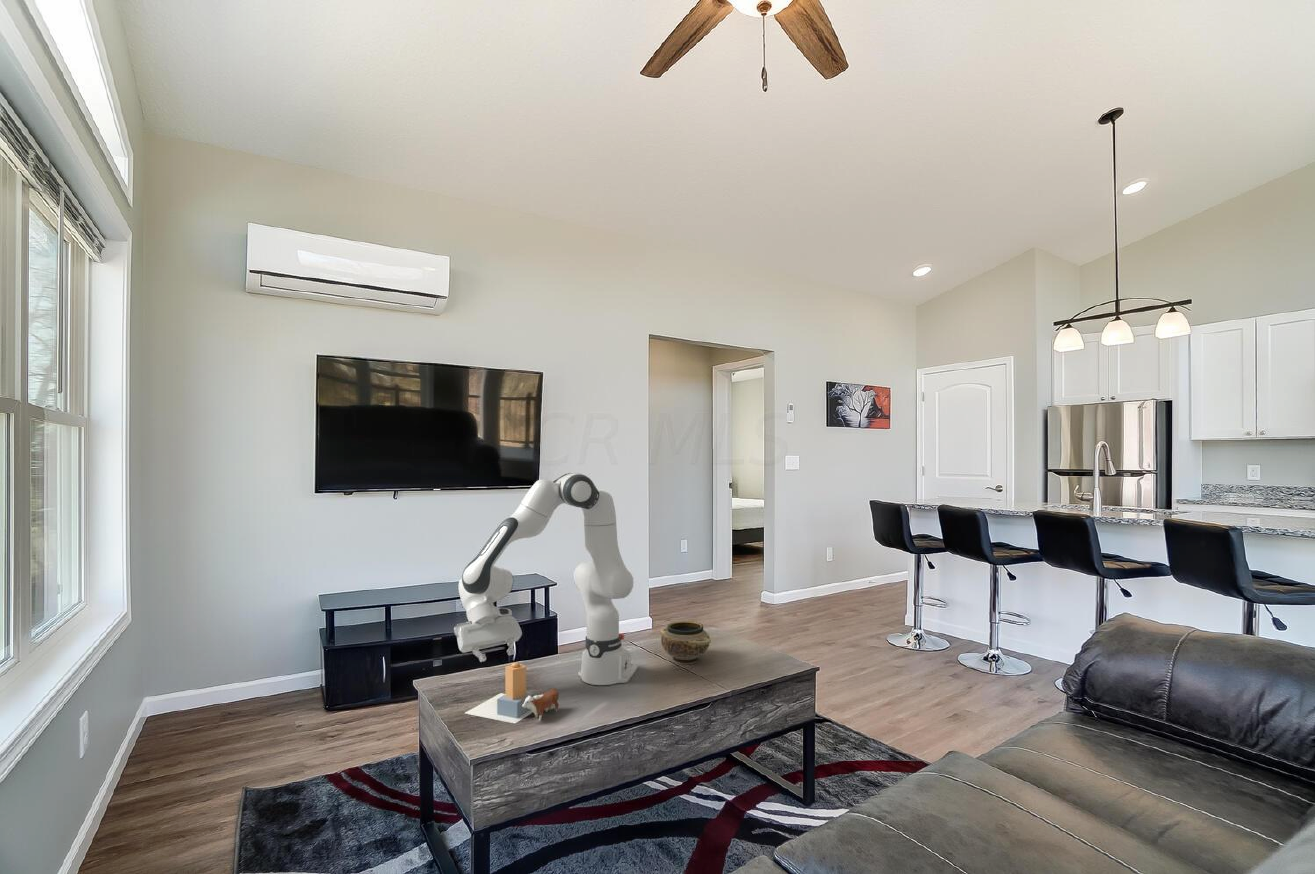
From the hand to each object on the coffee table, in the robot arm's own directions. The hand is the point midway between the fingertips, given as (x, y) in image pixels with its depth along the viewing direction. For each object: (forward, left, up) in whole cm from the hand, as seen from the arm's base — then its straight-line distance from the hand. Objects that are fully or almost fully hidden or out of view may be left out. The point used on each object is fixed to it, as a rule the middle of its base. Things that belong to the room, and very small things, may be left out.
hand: (497, 657), depth 196 cm
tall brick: (+5, +10, -9) cm, 14 cm away
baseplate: (+3, +6, -14) cm, 16 cm away
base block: (+5, +10, -13) cm, 17 cm away
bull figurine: (+4, +19, -14) cm, 24 cm away
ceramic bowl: (-61, +38, -14) cm, 74 cm away
